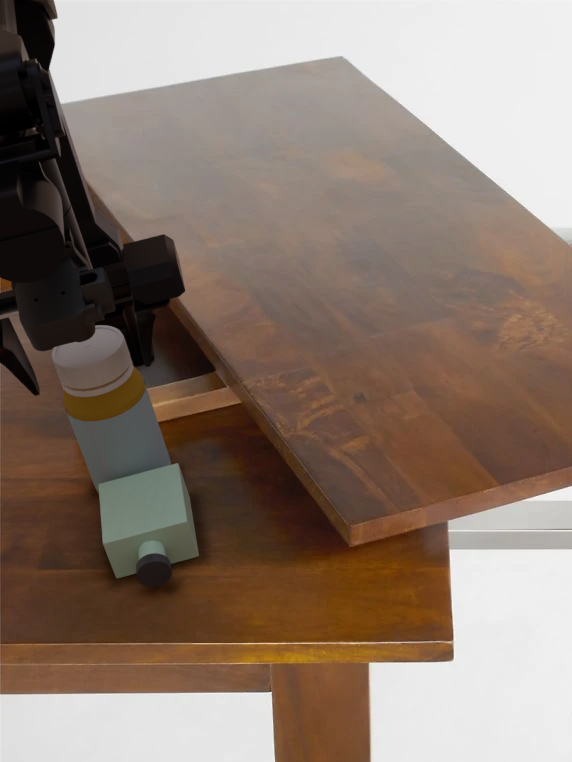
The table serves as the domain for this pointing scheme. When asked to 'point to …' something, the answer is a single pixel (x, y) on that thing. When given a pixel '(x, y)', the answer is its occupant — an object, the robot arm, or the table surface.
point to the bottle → (109, 407)
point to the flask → (147, 524)
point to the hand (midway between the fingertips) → (93, 378)
